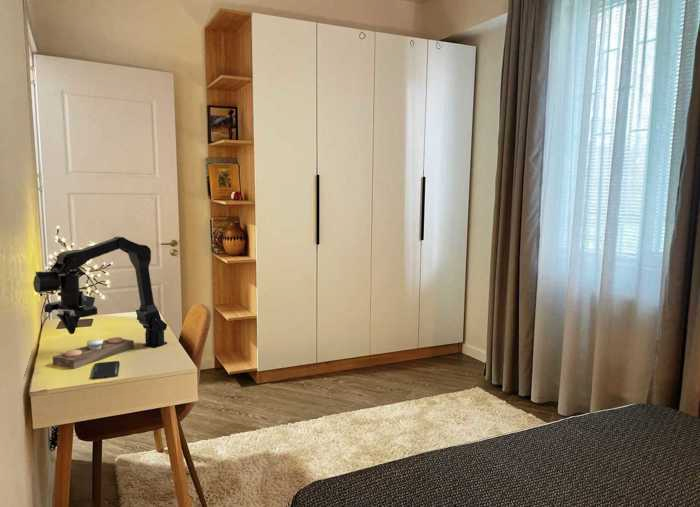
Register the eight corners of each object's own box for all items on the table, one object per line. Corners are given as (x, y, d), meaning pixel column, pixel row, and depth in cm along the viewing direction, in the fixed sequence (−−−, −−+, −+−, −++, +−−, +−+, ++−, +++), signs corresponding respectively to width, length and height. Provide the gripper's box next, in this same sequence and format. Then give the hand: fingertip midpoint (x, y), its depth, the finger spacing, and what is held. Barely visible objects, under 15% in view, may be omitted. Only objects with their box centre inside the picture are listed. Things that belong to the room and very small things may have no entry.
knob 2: (126, 347, 199) (125, 338, 198) (115, 351, 194) (114, 341, 193) (115, 346, 201) (115, 336, 200) (104, 349, 196) (104, 340, 195)
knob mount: (133, 348, 199) (133, 340, 199) (74, 368, 175) (73, 360, 175) (114, 345, 203) (113, 337, 202) (53, 364, 179) (52, 356, 179)
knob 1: (85, 361, 182) (85, 351, 182) (72, 366, 177) (72, 355, 177) (75, 359, 184) (74, 349, 184) (61, 364, 179) (61, 353, 179)
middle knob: (106, 350, 190) (106, 340, 190) (94, 354, 185) (94, 344, 185) (96, 348, 192) (95, 338, 192) (84, 352, 187) (83, 342, 187)
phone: (119, 360, 182) (118, 374, 168) (119, 363, 182) (118, 377, 168) (94, 363, 179) (90, 377, 165) (94, 366, 179) (90, 380, 165)
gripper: (109, 287, 182) (111, 331, 183) (70, 283, 189) (72, 325, 190) (82, 292, 171) (84, 339, 173) (42, 288, 179) (44, 332, 180)
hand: (71, 333), depth 179 cm, fingers closed
